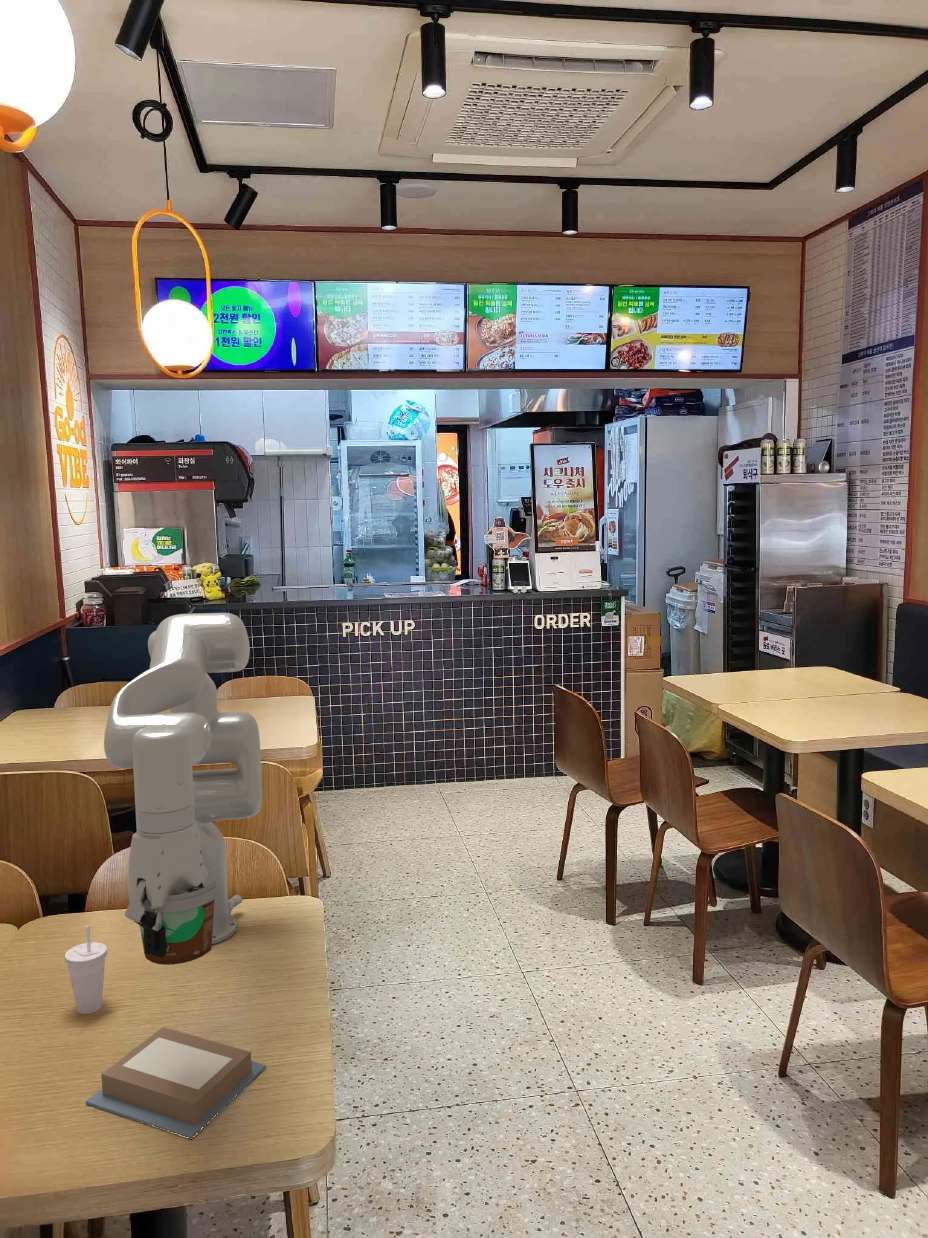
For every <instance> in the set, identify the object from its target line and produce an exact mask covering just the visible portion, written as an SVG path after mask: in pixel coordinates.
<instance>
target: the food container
mask: <svg viewBox="0 0 928 1238" xmlns="http://www.w3.org/2000/svg"><path fill="white" fill-rule="evenodd" d="M218 896H219V892H218V888H217V886H215V881H214V882H213V883H212V884H210V885H208V886H207V887H197V886H195V887H193V888H191V889H189V890H188V891H186V892H184V893H183V894H179V895H171V896H169V898H168V901H167V902H166V905H165V906H164V907H162V908H160V912H163V919H162V924H161V927H163V928H165V938H166V955H165V956H163V957H157V956H153V955H149V954H146V953H145V949H144V930H143V928H142V927H140V926H139V929H140V935H141V941H142V947H143V954H144V958H145V959H146V960H148V961H149V962H150V963H153V964H156V965H165V966H166V965H168V966H172V965H180V964H185V963H186V964H187V963H189V962H192V961H195V960H198V959H200V958H202V957H203V956H205V955H207V954H208V953H210V951H211V950H212V949H213V948H212V945H213V944H212V933H213V917H214V900H215V899H216V898H217V897H218ZM151 907H152V905H151V901H149V899H148V897H147V898H146V900H145V902H144V904H143V908H145V911H148V912H149V916H150V917H152V918H154V913H155V910H152V909H150V908H151Z"/></svg>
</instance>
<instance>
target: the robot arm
mask: <svg viewBox="0 0 928 1238" xmlns="http://www.w3.org/2000/svg"><path fill="white" fill-rule="evenodd" d="M147 649H148V654H149V656H150V664H149V669H146V670H145V671H143V672H142V673H140V674H139V675H137V676H136V677H134V678H133V679H132V680H130V682H128V683H127V684H126V685H124V686H123V687H122V688H121V689H120V690H119V691H118V692H117V693H116V695H114V698H113V699H112V701H111V704H110V707H109V711H108V716H107V720H106V724H105V725H106V726H105V728H104V736H103V748H104V755H105V757H106V759H107V761H108V762H109V764H111V766H113V767H116V768H118V769H121V770H122V769H124V770H126V769H133V770H132V771H133V784H134V785H133V786H134V803H135V804H134V805H135V807H134V808H135V822H136V824H135V825H136V832H135V833H133V834H132V837H131V842H130V849H129V857H128V858H129V860H128V899H129V900H128V901H129V904H128V906H127V908H126V910H125V911H124V916H125V917H126V918H127V919H129V920H131V921H133V922H134V923H136V924H137V925H138V926H139V928H140V927H142V928H143V930H144V949H145V953H146V954H149V955H153V956H157V957H163V956H165V955H166V938H165V928H163V927H161V924H162V919H163V912H160V908H162V907H164V906H165V905H166V902H167V901H168V898H169V896H171V895H179V894H183V893H184V892H186V891H188V890H189V889H191V888H193V887H195V886H197V887H207V886H208V885H210V884H212V883H213V882H214V881H215V886H217V888H218V892H219V896H218V897H217V898H216V899H215V900H214V917H213V933H212V945H215V944H218V943H220V942H223V941H226V940H227V939H229V938H231V937H232V936H233V935H234V934H235V933H236V931H237V929H238V922H237V919H236V918H235V917H234V916H233V915H232V911H233V910H234V908H235V907H237V906H239V905H241V903H242V902H243V898H242V896H241V895H239V894H235V895H233V896H232V897H231V898H229V897H228V878H227V877H228V876H227V875H228V873H227V872H228V871H227V854H226V853H227V851H226V849H227V848H226V842H225V837H224V835H223V834H222V832H221V830H220V829H219V828H218V827H217V826H216V825H215V824H214V823H213V822H218V821H229V820H241V819H250V818H253V817H256V815H258V814H259V812H260V810H261V808H262V803H263V781H262V762H261V761H262V760H261V759H262V758H261V740H260V730H259V726H258V722H257V719H256V718H255V716H253V714H251V713H249V712H244V711H232V712H231V711H229V712H226V711H225V712H221V711H220V712H219V710H218V696H217V695H218V693H217V686H216V684H215V681H214V680H212V677H210V675H209V674H212V673H232V672H233V673H235V672H240V671H242V670H244V669H245V668H246V666H247V665H248V663H249V660H250V659H249V658H250V655H251V653H250V651H251V650H250V649H251V647H250V640H249V635H248V632H247V628H246V626H245V623H244V622H243V620H242V619H241V618H240V617H239V616H237V615H235V614H233V613H229V612H205V613H204V612H203V613H199V612H198V613H179V614H175V615H171V616H168V617H166V618H164V619H163V620H162V621H160V623H159V624H158V626H157V628H156V630H154V631H153V632H152V633H150V635H149V637H148V640H147ZM164 711H169V713H167V712H166V713H162V712H164ZM217 764H218V765H219V764H233V765H234V766H235V767H236V768H223V769H216V768H215V769H213V768H212V769H204V770H203V769H202V770H201V769H199V770H193V767H194V766H201V765H202V766H203V765H217ZM147 897H148V899H149V901H151V905H152V907H151V908H150V909H152V910H155V913H154V918H152V917H150V916H149V912H148V911H145V908H143V904H144V902H145V900H146V898H147ZM228 898H229V899H228ZM144 949H143V950H144Z"/></svg>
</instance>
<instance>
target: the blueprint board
mask: <svg viewBox="0 0 928 1238" xmlns="http://www.w3.org/2000/svg"><path fill="white" fill-rule="evenodd" d="M265 1067H266V1068H267V1065H266V1064H263V1063H259V1062H256V1061H252V1051H249V1050H245V1049H242V1048H237V1047H235V1046H231V1045H227V1044H224V1043H220V1042H217V1041H213V1040H210V1039H206V1038H202V1037H198V1036H195V1035H192V1034H189V1033H185V1032H182V1031H179V1030H175V1029H171V1028H167V1027H164V1026H162V1027H161V1028H160V1029H159V1030H157V1031H156V1032H155V1033H153V1034H152V1035H150V1036H149V1037H148V1038H147V1039H145V1040H144V1041H142V1042H141V1043H140V1044H139V1045H137V1046H136V1047H135V1048H133V1049H132V1050H131V1051H129V1052H128V1053H127V1054H126V1055H124V1056H123V1057H121V1058H120V1059H119V1060H118V1061H116V1062H115V1063H114V1064H112V1065H111V1066H110V1067H109V1068H107V1069H106V1070H105V1071H103V1072H102V1073H101V1075H100V1076H101V1089H99V1090H98V1091H97V1092H96V1093H94V1094H93V1095H92V1096H90V1097H89V1098H88V1099H87V1100H85V1104H86V1105H88V1106H91V1107H93V1108H97V1109H100V1110H103V1111H105V1112H108V1113H112V1114H114V1115H117V1116H121V1117H123V1118H126V1119H127V1120H128V1119H129V1120H131V1119H132V1121H134V1120H135V1122H137V1121H138V1123H140V1122H143V1123H144V1125H146V1124H149V1125H151V1126H150V1127H152V1125H154V1126H155V1127H158V1128H162V1129H165V1130H169V1131H170V1132H173V1133H177V1134H180V1135H182V1136H185V1137H189V1138H191V1139H192V1138H193V1136H195V1135H196V1133H198V1132H199V1131H200V1130H201V1128H202V1127H204V1126H205V1125H207V1123H208V1122H209V1121H211V1119H212V1118H214V1116H215V1115H217V1113H219V1112H220V1111H221V1110H222V1109H223V1108H224V1107H225V1106H226V1107H228V1105H229V1104H230V1103H231V1102H232V1101H233V1100H234V1099H235V1098H236V1097H237V1096H239V1094H238V1093H240V1092H241V1091H242V1090H243V1089H244V1088H245V1087H246V1086H247V1087H248V1086H249V1085H250V1084H251V1083H252V1082H253V1081H254V1080H255V1079H256V1078H257V1077H258V1076H259V1075H260V1074H261V1073H262V1072H263V1071H264V1070H266V1068H265ZM263 1069H264V1070H263ZM262 1070H263V1071H262ZM260 1072H261V1073H260ZM259 1073H260V1074H259ZM257 1075H258V1076H257ZM256 1076H257V1077H256ZM254 1078H255V1079H254ZM252 1080H253V1081H252ZM251 1081H252V1082H251ZM250 1082H251V1083H250ZM248 1084H249V1085H248ZM247 1087H246V1088H247ZM246 1088H245V1089H246ZM243 1091H244V1090H243ZM241 1093H242V1092H241ZM241 1093H240V1094H241ZM236 1095H237V1096H236ZM235 1096H236V1097H235ZM233 1098H234V1099H233ZM232 1099H233V1100H232ZM230 1101H231V1102H230ZM229 1102H230V1103H229ZM227 1104H228V1105H227ZM226 1107H225V1108H226ZM225 1108H224V1109H225ZM224 1109H223V1110H224ZM223 1110H222V1111H223ZM222 1111H221V1112H222ZM221 1112H220V1113H221ZM220 1113H219V1114H220ZM217 1116H218V1115H217ZM214 1119H215V1118H214ZM211 1122H212V1121H211ZM143 1123H142V1124H143ZM149 1125H148V1126H149ZM207 1126H208V1125H207ZM155 1127H154V1128H155ZM158 1128H157V1129H158ZM204 1128H205V1127H204ZM201 1131H202V1130H201ZM201 1131H200V1132H201ZM200 1132H199V1133H200ZM199 1133H198V1134H199ZM196 1136H197V1135H196ZM196 1136H195V1137H196ZM193 1139H194V1138H193ZM193 1139H192V1140H193Z"/></svg>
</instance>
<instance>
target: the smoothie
mask: <svg viewBox="0 0 928 1238" xmlns="http://www.w3.org/2000/svg"><path fill="white" fill-rule="evenodd" d="M90 930H91V928H90V925H85V935H86V937H85V938H86V942H84V943H81V944H78V945H75V946H73V947H71V948H70V949H68V950H67V951H66V952H65V955H64V963H65V965H67V969H68V973H69V978H70V983H71V988H72V992H73V997H74V1002H75V1006H76V1012H77V1013H78V1014H81V1015H87V1014H93V1013H95V1012H97V1011H99V1010H100V1009H101V1008H102V1006H103V992H104V991H103V990H104V980H105V969H106V967H105V966H106V957H107V956H108V946H107V945H106V944H105V943H101V942H95V941H92V942H91V931H90Z"/></svg>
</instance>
